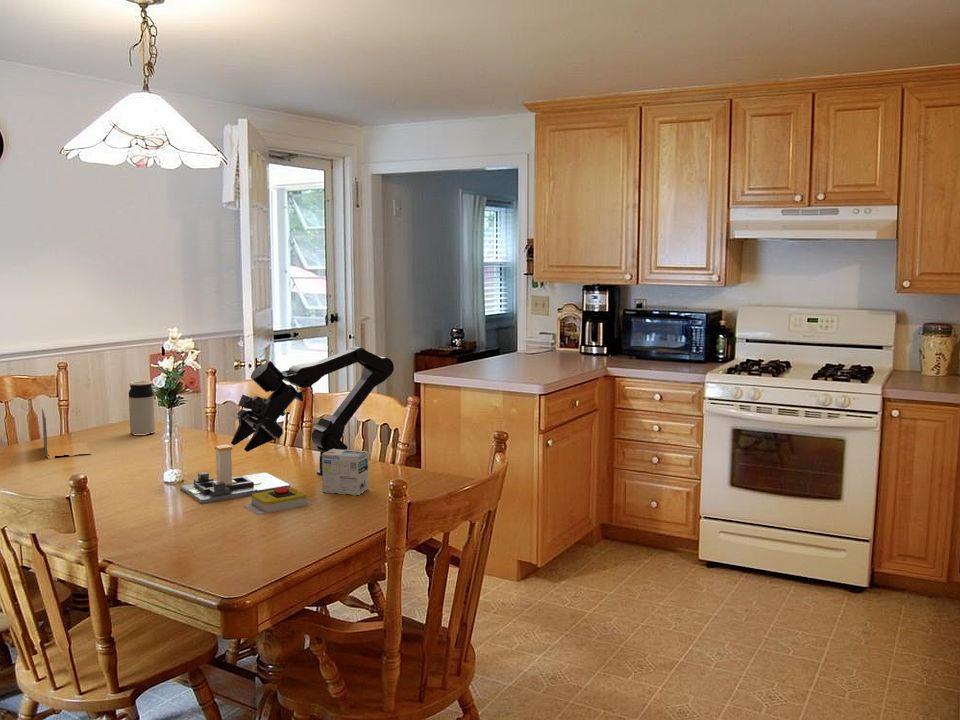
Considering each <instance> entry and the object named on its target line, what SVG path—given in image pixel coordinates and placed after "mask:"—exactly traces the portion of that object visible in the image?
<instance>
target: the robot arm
mask: <svg viewBox="0 0 960 720" xmlns="http://www.w3.org/2000/svg"><path fill="white" fill-rule="evenodd" d="M356 363H357V364H359V365H361V366H362V367H363V368H362V373H361V377H360V379H359V380H358V381H357V382H356V384H355V385H354V386H353V388H352V389H351V390H350V392H349V393H348V395H347V396H346V397H345V398H344V400H343V401H342V402H341V403H340V405H339V406H338V407H337V408H336V410H335V411H334V412H333V414H332V415H331V416H329V418H324V417H321V418H320V419H319V420H318V422H317V423H316V424H315V426H313V427H312V432H311V435H310V436H311V441H312V443H313V444H314V445H315V446H316V448H317V451H319V454H320V455H319V470H317V471H316V474H317V475H322V476H323V467H322V454H323V453H325V452H327V451H329V450H331V449H341V450H348V446H347V445H346V444H345V443H344V442H343V441H342V439H343V437H344V432H345V429H346V425H347V424H348V423H349V422H350V420H351V418H352V417H353V416H354V415H355V413H356V412H357V410H358V409H359V408H360V407H361V406H362V404H363V403H364V401H366V399H367V397H368V396H369V395H370V393H371V392H372V391H373V389H374V388H376V387H377V386H379V385H381V384H382V383H384V382H385V381H386V380H387V379H388V378H389V377H391V375H392V374H393V373H394V372H395V371H394V370H395V368H394V361H392V359H391V358H388V357H384V356H380V355H376V354H375V353H372V352H371V351H370V352H369V351H368V350H366V349H365V348H363V347H359V346H352V347H350V348H349V349H346V350H344V351H341V352H339V353H336V354H334V355H331V356H328V357H326V358H323V359H320V360H318V361H315V362H308V363H307V362H305V363H300V364H295V365H292V366H291V367H290V368H288V369H287V370H283V371H282V370H281V371H280V370H279V369H278V367H276V365H275V364H274V363H273V362H272V361H271V360H266V361H265V362H264V363H262V364H260V365H259V366H258V367H256V368H255V369H254V370H253V371H252V372H251V374H250V379H251V380H252V381H253V382H254V383H255V384H256V385H257V386H259V388H261V389H262V390H263V391H264V392H265V393H269V392H270V395H269V396H268V397H267V398H266V397H264V398H263V397H262V396H261V397H260V396H258V395H254V396H253V397H250V396H248V395H245V394H242V395H241V397H240V400H239V402H238V404H237V406H239V407H242V408H241V409H240V410H239V411H238V412H237V413H236V415H237V420H238V426H237V428H236V431H235V433H234V436H233V438H232V440H231V442H230V443H231V444H232V445H233V446H236V445H238V444H239V443H241V442H242V441H243V440H245V439H247V438H248V437H249V436H251V435H252V436H251V438H250V439H249V441H248V442H247V443H246V445H245V447H244V451H245V452H246V453H248V452H250V451H252V450H255V449H256V448H258V447H261V446H262V445H265V444H267V443H270V442H271V441H275V440H276V439H277V440H279V439H280V438H281V437H282V436H283V434H284V429H283V427H281V425H279V424H278V423H277V422H276V421H278V419H280V417H285V416H286V413H285V411H286V410H287V409H288V407H289V406H290V405H291V404H292V403H293V401H295V400H297V401H299V402H304V391H302V390H300V389H299V390H298V389H296V388H295V387H299V388H301V389H307V388H309V387H312V385H314V384H316V383H317V382H318V381H320V380H321V379H322V378H323V377H325V376H326V375H328V374H331V373H333V372H336V371H339V370H342V369H343V368H346V367H349V366H351V365H354V364H356ZM286 382H288V383H290V384H287V383H286Z"/></svg>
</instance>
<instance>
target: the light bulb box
mask: <svg viewBox="0 0 960 720" xmlns="http://www.w3.org/2000/svg"><path fill="white" fill-rule="evenodd" d="M322 467H323V475H322V493H323V492H325V494H334V493H338V494H337V495H345V494H353V495H352V496H356V495H359V496H361V495H362V494H363V492H364V491H365V490H367V489H368V488H369V483H370V482H369V479H370V478H369V450H356V449H355V450H354V449H353V450H352V449H347V450H341V449H331V450H329V451H327V452H325V453H323V454H322ZM369 489H370V488H369ZM367 491H368V490H367ZM365 492H366V491H365ZM365 492H364V493H365ZM361 493H362V494H361ZM360 494H361V495H360Z"/></svg>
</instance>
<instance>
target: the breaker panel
mask: <svg viewBox="0 0 960 720" xmlns="http://www.w3.org/2000/svg"><path fill="white" fill-rule="evenodd" d="M232 479H233V480H234V481H236V483H235V484H229V485H225V483H224V482H216V483H214V486H213V481H217V478H216V479H214V478H213V477H211V476H210V473H209V472H207V471H202V472H201V471H200V472H198V473H197V478H193V482H192V483H189V484H183V485H180V490H181V489H182V490H183V491H182V490H181V491H182V492H184V491H185V492H186V493H185V492H184V493H185V494H187V493H188V494H189V495H188V494H187V495H188V496H190V497H191V496H192V497H193V498H192V497H191V498H192V499H194V500H195V499H196V500H195V501H196V502H198V503H199V504H201V505H203V504H206V503H214V502H219V501H220V502H221V501H225V500H230V499H232V500H233V499H236V498H241V497H243V498H244V497H247V496H252V494H254V493H260V492H265V491H271V490H274V489H276V488H281V487H285V488H288V487H291V484H290V483H288V482H285V481H284V480H281V479H280V478H278V477H276V476H274V475H272V474H270V473H268V472H261V473H252V474H247V475H241V476H232Z"/></svg>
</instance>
